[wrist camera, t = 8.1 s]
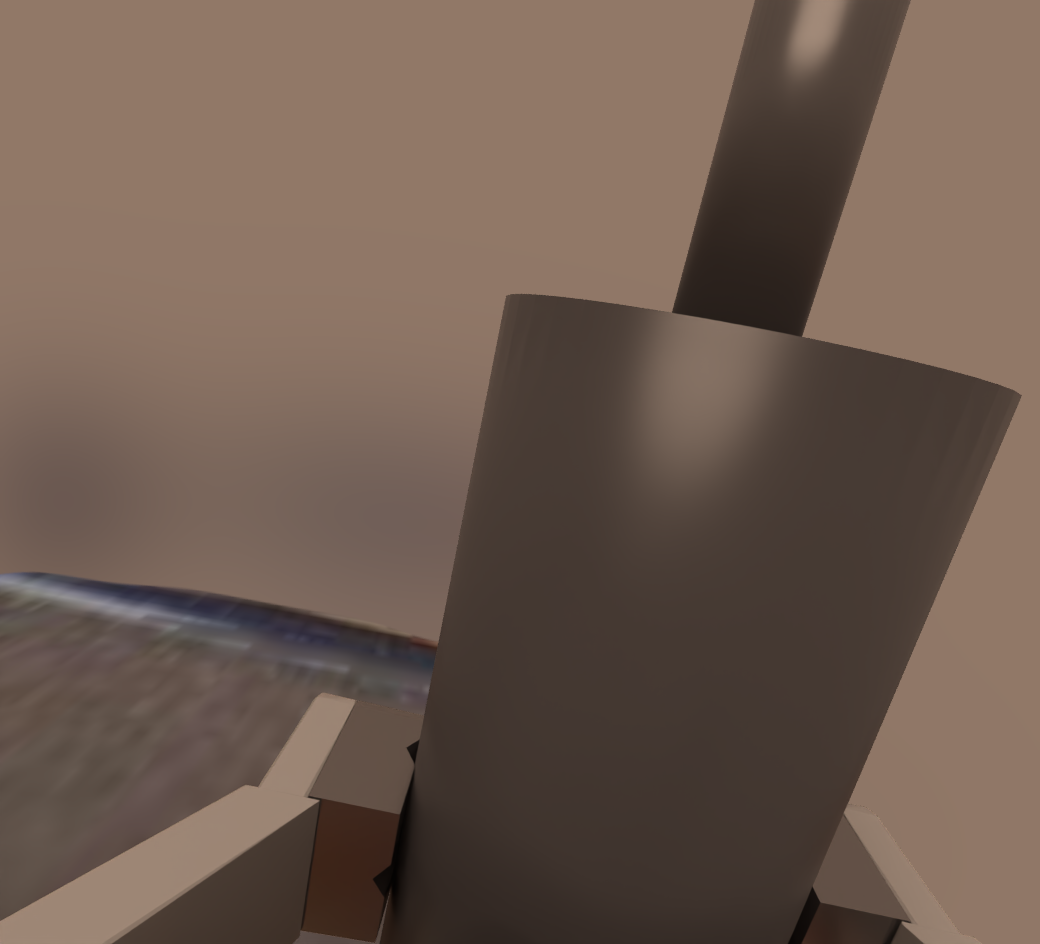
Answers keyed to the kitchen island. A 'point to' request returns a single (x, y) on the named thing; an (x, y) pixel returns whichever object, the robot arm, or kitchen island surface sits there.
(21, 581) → the kitchen island surface
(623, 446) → the plug
